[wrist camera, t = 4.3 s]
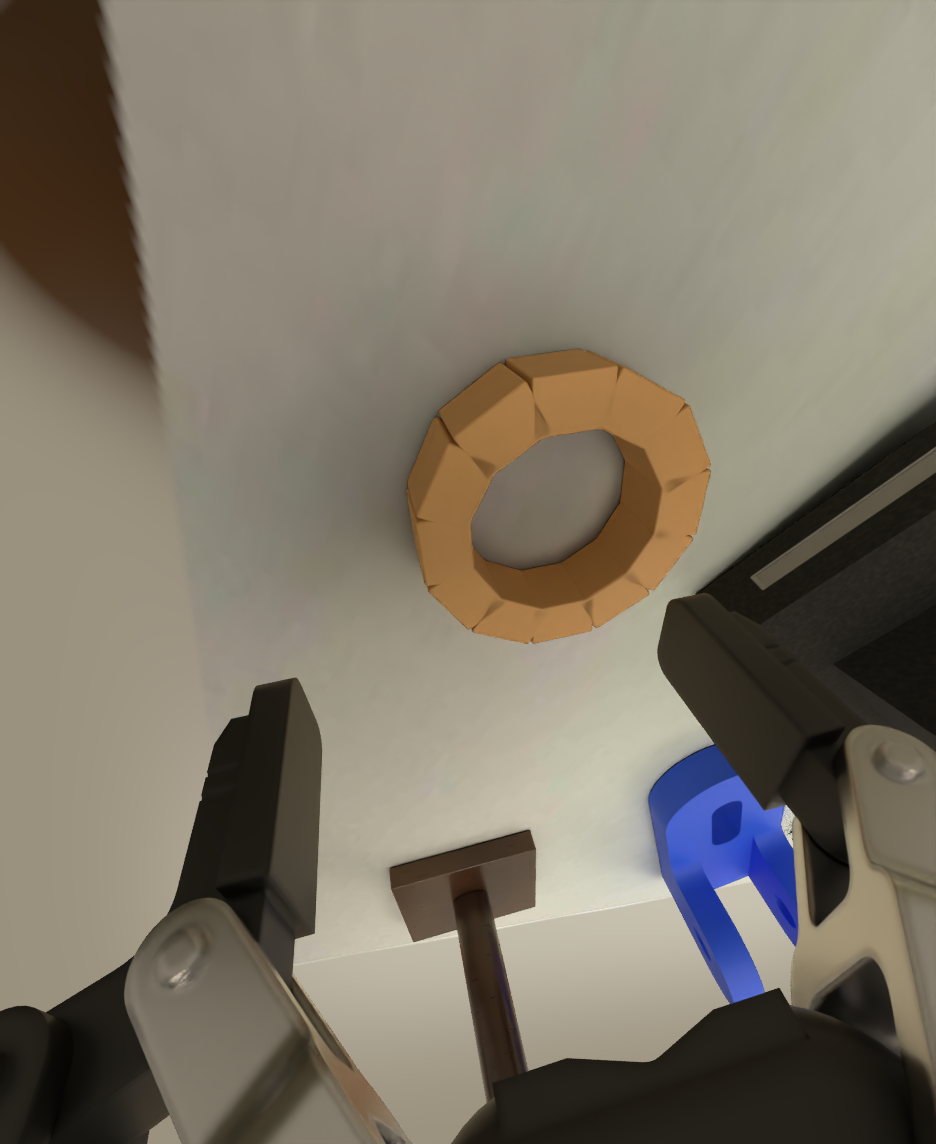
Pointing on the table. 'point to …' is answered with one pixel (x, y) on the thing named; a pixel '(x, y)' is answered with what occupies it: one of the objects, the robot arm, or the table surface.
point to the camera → (858, 591)
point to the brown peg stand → (476, 932)
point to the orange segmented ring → (506, 430)
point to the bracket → (721, 860)
